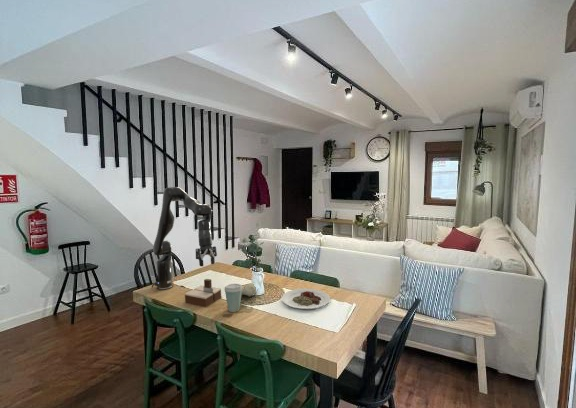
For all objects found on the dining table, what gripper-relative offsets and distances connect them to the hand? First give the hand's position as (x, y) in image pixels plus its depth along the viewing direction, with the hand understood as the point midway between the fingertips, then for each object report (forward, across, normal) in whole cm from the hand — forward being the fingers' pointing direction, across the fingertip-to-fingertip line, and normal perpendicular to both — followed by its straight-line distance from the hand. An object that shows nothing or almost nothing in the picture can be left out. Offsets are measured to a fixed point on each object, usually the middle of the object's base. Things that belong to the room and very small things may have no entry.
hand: (207, 265), depth 184 cm
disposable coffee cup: (+28, -10, +9) cm, 31 cm away
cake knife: (+24, -11, -13) cm, 29 cm away
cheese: (+24, -33, +4) cm, 41 cm away
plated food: (+29, -42, +39) cm, 65 cm away
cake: (+23, -10, -17) cm, 30 cm away
